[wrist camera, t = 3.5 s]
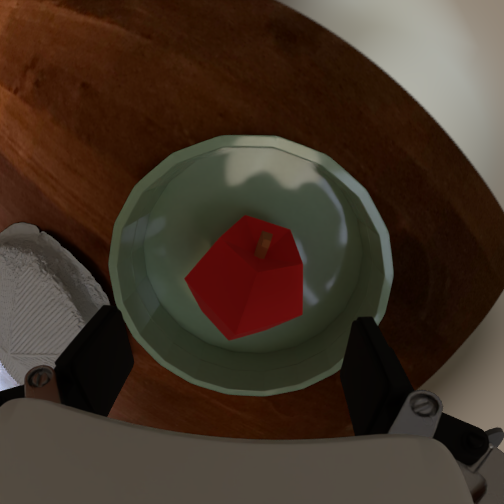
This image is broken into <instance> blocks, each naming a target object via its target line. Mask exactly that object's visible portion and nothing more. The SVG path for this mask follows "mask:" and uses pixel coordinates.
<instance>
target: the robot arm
mask: <svg viewBox="0 0 504 504" xmlns="http://www.w3.org/2000/svg"><path fill="white" fill-rule="evenodd" d="M54 363H55V365H56V367H55V368H54V369H53V368H52V367H50V366H48V365H39V366H36V367H33V368H32V369H30V370H29V371H28V372H27V373H26V375H25V378H24V384H23V385H20V386H17V387H14V388H10V389H7V390H4V391H0V504H504V453H503V452H502V451H501V450H499V449H498V448H497V447H495V446H494V447H493V445H492V443H489V438H488V436H487V434H486V433H485V432H484V431H483V430H482V429H480V428H478V427H476V426H473V425H471V424H469V423H466V422H464V421H461V420H459V419H457V418H454V417H452V416H450V415H447V414H445V413H443V412H442V410H443V405H442V401H441V400H440V399H439V397H438V396H437V395H435V394H434V393H432V392H430V391H426V390H417V391H414V389H413V387H412V385H411V383H410V381H409V379H408V377H407V375H406V373H405V372H404V370H403V368H402V366H401V364H400V362H399V360H398V358H397V356H396V354H395V352H394V351H393V349H392V348H391V347H389V346H388V344H387V342H386V340H385V339H384V337H383V335H382V333H381V331H380V329H379V327H378V326H377V324H376V322H375V320H374V318H373V317H372V316H365V317H358V318H357V320H354V321H353V322H352V326H351V330H350V334H349V339H348V343H347V347H346V351H345V355H344V359H343V363H342V366H341V370H340V378H341V382H342V386H343V390H344V394H345V397H346V401H347V405H348V409H349V413H350V417H351V421H352V425H353V429H354V433H355V436H352V437H341V438H326V439H304V440H257V439H237V438H224V437H213V436H203V435H195V434H188V433H181V432H174V431H168V430H162V429H157V428H152V427H146V426H142V425H137V424H132V423H128V422H124V421H120V420H116V419H112V418H108V417H107V416H108V414H109V412H110V410H111V408H112V406H113V404H114V402H115V400H116V398H117V396H118V394H119V392H120V390H121V388H122V386H123V385H124V383H125V381H126V379H127V377H128V375H129V373H130V371H131V369H132V368H133V364H134V359H133V355H132V352H131V348H130V344H129V340H128V337H127V333H126V329H125V324H124V320H123V316H122V312H121V311H120V310H118V308H117V307H116V306H111V305H103V306H102V307H101V308H100V309H99V310H98V311H97V313H96V314H95V315H94V316H93V317H92V318H91V319H90V320H89V322H88V323H87V324H86V325H85V326H84V327H83V329H82V330H81V331H80V332H79V333H78V334H77V336H76V337H75V338H74V339H73V340H72V341H71V343H70V344H69V345H68V346H67V347H66V349H65V350H64V351H63V352H62V354H61V355H60V356H59V357H58V358H57V360H56V361H55V362H54Z"/></svg>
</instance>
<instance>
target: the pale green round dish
mask: <svg viewBox="0 0 504 504" xmlns="http://www.w3.org/2000/svg"><path fill="white" fill-rule="evenodd" d="M244 215H247V216H250V217H254V218H257V219H260V220H263V221H266V222H269V223H272V224H275V225H278V226H281V227H284V228H287V229H290V230H291V233H292V235H293V238H294V241H295V243H296V246H297V249H298V251H299V254H300V257H301V260H302V262H303V315H301V316H299V317H296V318H294V319H291V320H289V321H287V322H284V323H282V324H280V325H277V326H275V327H272V328H270V329H267V330H264V331H261V332H258V333H254V334H251V335H248V336H244V337H241V338H237V339H234V340H230V341H229V340H228V339H227V338H226V337H225V336H224V335H223V334H222V333H221V332H220V331H219V330H218V328H217V327H216V326H215V325H214V324H213V323H212V322H211V321H210V320H209V319H208V317H207V316H206V315H205V314H204V313H203V312H202V311H201V309H200V307H199V305H198V303H197V301H196V300H195V298H194V296H193V294H192V292H191V290H190V289H189V287H188V285H187V283H186V281H185V279H184V278H185V277H186V276H187V275H188V274H189V272H190V271H191V270H192V269H193V268H194V267H195V265H196V264H197V263H198V262H199V261H200V260H201V258H202V257H203V256H204V255H205V254H206V253H207V251H208V250H209V249H210V248H211V247H212V246H213V244H214V243H215V242H216V241H217V240H218V239H219V238H220V237H221V236H222V235H223V234H224V233H225V232H226V231H227V230H228V229H230V228H231V227H232V226H233V225H234V224H235V223H236V222H237V221H239V220H240V219H241V218H242V217H243V216H244ZM108 264H109V272H110V278H111V283H112V288H113V293H114V298H115V303H116V305H117V307H118V309H119V310H120V311H121V312H122V316H123V319H124V321H125V323H126V324H127V326H128V328H129V330H130V332H131V334H132V335H133V337H134V338H135V339H136V340H137V341H138V342H139V344H140V345H141V346H142V347H143V348H144V349H145V350H146V351H147V352H148V353H149V354H150V355H151V356H152V357H153V358H154V359H155V360H156V361H157V362H158V363H159V364H160V365H162V366H163V367H165V368H166V369H168V370H170V371H171V372H173V373H175V374H176V375H178V376H180V377H181V378H183V379H185V380H186V381H188V382H190V383H192V384H195V385H198V386H201V387H204V388H208V389H211V390H214V391H218V392H221V393H225V394H230V395H246V396H270V395H275V394H280V393H286V392H291V391H295V390H300V389H303V388H305V387H308V386H310V385H312V384H314V383H316V382H318V381H320V380H322V379H324V378H326V377H328V376H330V375H332V374H334V373H335V372H337V371H338V370H340V369H341V366H342V363H343V359H344V355H345V351H346V347H347V343H348V339H349V334H350V330H351V326H352V322H353V321H354V320H357V318H358V317H365V316H372V317H373V318H374V320H375V322H376V324H377V326H378V325H379V323H380V321H381V320H382V318H383V316H384V314H385V311H386V307H387V303H388V299H389V294H390V290H391V285H392V281H393V274H394V272H393V263H392V254H391V246H390V239H389V232H388V229H387V227H386V225H385V223H384V221H383V219H382V218H381V216H380V214H379V212H378V210H377V208H376V206H375V204H374V202H373V200H372V199H371V197H370V195H369V193H368V191H367V190H366V189H365V188H364V187H363V186H362V185H361V184H360V183H359V182H358V181H357V180H356V179H355V178H354V177H352V176H351V175H350V174H349V173H348V172H347V171H346V170H344V169H343V168H342V167H341V166H340V165H339V164H338V163H336V162H335V161H334V160H333V159H332V158H331V157H329V156H327V155H326V154H324V153H321V152H319V151H316V150H314V149H311V148H309V147H306V146H304V145H301V144H298V143H296V142H293V141H290V140H288V139H285V138H282V137H279V136H273V135H222V136H218V137H215V138H212V139H209V140H206V141H203V142H200V143H198V144H195V145H192V146H189V147H187V148H184V149H181V150H179V151H176V152H174V153H173V154H170V155H169V156H168V157H167V158H166V159H164V160H163V161H162V162H161V163H160V164H159V165H157V166H156V167H155V168H154V169H153V170H152V171H150V172H149V173H148V174H147V175H146V176H145V177H144V178H142V179H141V180H140V181H139V182H138V183H137V184H136V185H135V186H134V188H133V190H132V191H131V193H130V195H129V197H128V199H127V200H126V202H125V204H124V206H123V208H122V210H121V212H120V214H119V215H118V217H117V219H116V221H115V223H114V228H113V235H112V241H111V248H110V255H109V263H108Z"/></svg>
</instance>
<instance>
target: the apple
mask: <svg viewBox="0 0 504 504" xmlns="http://www.w3.org/2000/svg"><path fill="white" fill-rule="evenodd" d="M184 279H185V281H186V283H187V285H188V287H189V289H190V290H191V292H192V294H193V296H194V298H195V300H196V301H197V303H198V305H199V307H200V309H201V311H202V312H203V313H204V314H205V315H206V316H207V317H208V319H209V320H210V321H211V322H212V323H213V324H214V325H215V326H216V327H217V328H218V330H219V331H220V332H221V333H222V334H223V335H224V336H225V337H226V338H227V339H228V340H229V341H230V340H234V339H237V338H241V337H244V336H248V335H251V334H254V333H258V332H261V331H264V330H267V329H270V328H272V327H275V326H277V325H280V324H282V323H284V322H287V321H289V320H291V319H294V318H296V317H299V316H301V315H303V262H302V260H301V257H300V254H299V251H298V249H297V246H296V243H295V241H294V238H293V235H292V233H291V230H290V229H287V228H284V227H281V226H278V225H275V224H272V223H269V222H266V221H263V220H260V219H257V218H254V217H250V216H247V215H244V216H243V217H242V218H241V219H240V220H239V221H237V222H236V223H235V224H234V225H233V226H232V227H231V228H230V229H228V230H227V231H226V232H225V233H224V234H223V235H222V236H221V237H220V238H219V239H218V240H217V241H216V242H215V243H214V244H213V246H212V247H211V248H210V249H209V250H208V251H207V253H206V254H205V255H204V256H203V257H202V258H201V260H200V261H199V262H198V263H197V264H196V265H195V267H194V268H193V269H192V270H191V271H190V272H189V274H188V275H187V276H186V277H185V278H184Z"/></svg>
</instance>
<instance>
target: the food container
mask: <svg viewBox="0 0 504 504" xmlns="http://www.w3.org/2000/svg"><path fill="white" fill-rule="evenodd" d="M103 305H110V303H109V300H108V297H107V295H106V293H105V292H103V290H102V288H101V286H100V284H98V283H97V282H96V281H95V278H94V277H93V276H92V275H91V273H90V272H89V271H88V270H87V269H86V268H85V267H84V266H83V265H82V264H81V263H80V262H79V261H78V260H77V259H76V258H75V257H74V256H73V255H72V254H71V253H70V252H69V251H68V250H66V249H65V248H63V247H61V246H60V243H59V242H58V241H56V240H54V239H53V237H52V236H50V235H47V233H45V232H43V231H42V232H41V233H39V229H38V228H37V227H36V226H35V225H31V224H27V223H23V222H21V223H16V224H13V225H11V226H10V227H8V228H7V229H5V230H4V231H3V232H1V233H0V360H1V363H3V364H2V366H3V365H4V368H6V369H5V370H6V371H7V372H8V373H9V375H11V377H13V379H15V381H16V382H17V383H20V384H19V385H23V384H24V378H25V375H26V373H27V372H28V371H29V370H30V369H32V368H33V367H36V366H39V365H48V366H50V367H52V368H53V369H54V368H55V367H56V365H55V363H54V362H55V361H56V360H57V358H58V357H59V356H60V355H61V354H62V352H63V351H64V350H65V349H66V347H67V346H68V345H69V344H70V343H71V341H72V340H73V339H74V338H75V337H76V336H77V334H78V333H79V332H80V331H81V330H82V329H83V327H84V326H85V325H86V324H87V323H88V322H89V320H90V319H91V318H92V317H93V316H94V315H95V314H96V313H97V311H98V310H99V309H100V308H101V307H102V306H103Z"/></svg>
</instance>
